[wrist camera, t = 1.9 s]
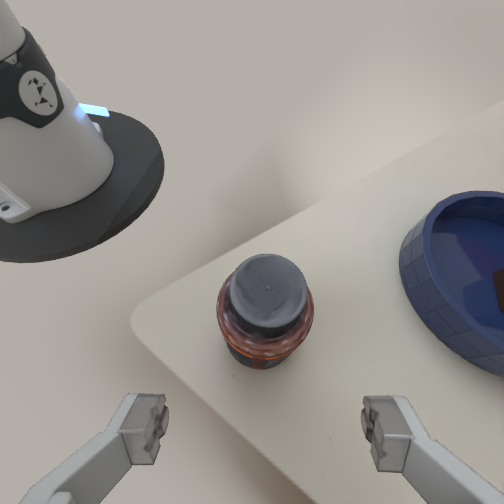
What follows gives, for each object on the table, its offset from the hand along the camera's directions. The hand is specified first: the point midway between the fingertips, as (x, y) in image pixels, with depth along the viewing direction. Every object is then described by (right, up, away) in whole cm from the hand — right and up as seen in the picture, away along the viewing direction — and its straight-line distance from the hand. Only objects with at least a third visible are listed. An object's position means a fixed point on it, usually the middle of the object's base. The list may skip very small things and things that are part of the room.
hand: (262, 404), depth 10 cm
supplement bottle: (0, -1, +12) cm, 12 cm away
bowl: (+23, +3, +15) cm, 28 cm away
